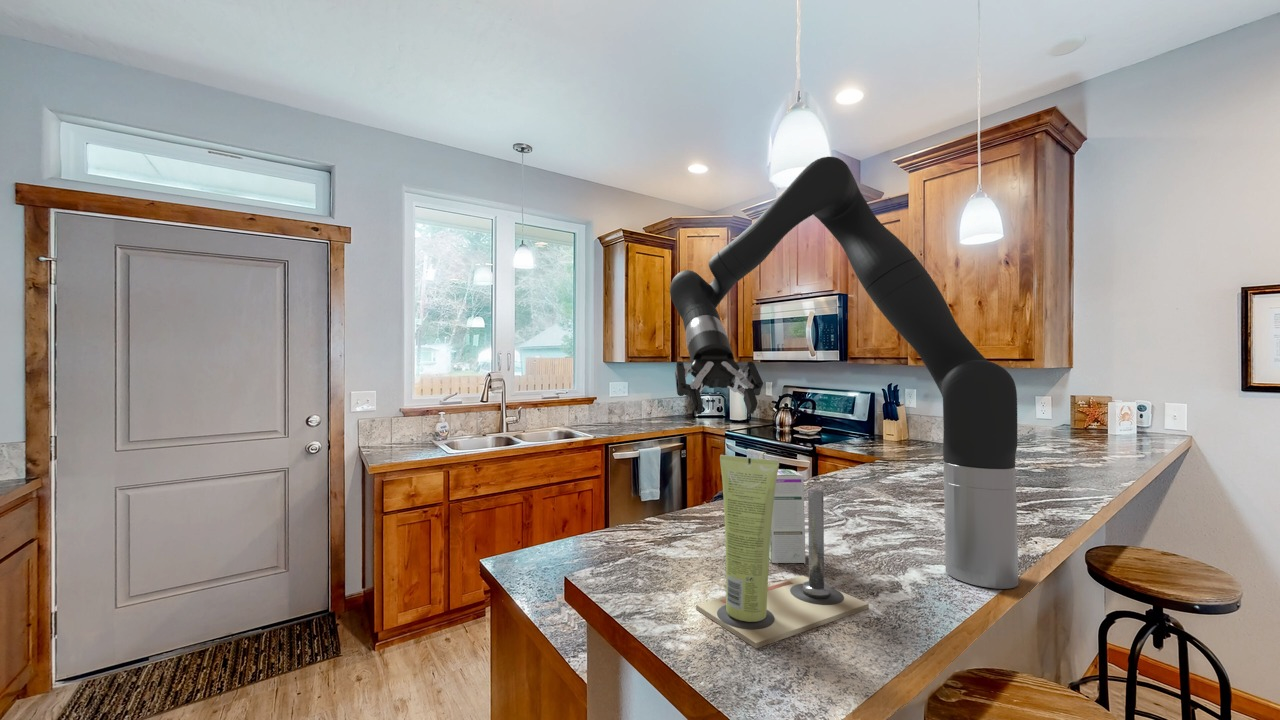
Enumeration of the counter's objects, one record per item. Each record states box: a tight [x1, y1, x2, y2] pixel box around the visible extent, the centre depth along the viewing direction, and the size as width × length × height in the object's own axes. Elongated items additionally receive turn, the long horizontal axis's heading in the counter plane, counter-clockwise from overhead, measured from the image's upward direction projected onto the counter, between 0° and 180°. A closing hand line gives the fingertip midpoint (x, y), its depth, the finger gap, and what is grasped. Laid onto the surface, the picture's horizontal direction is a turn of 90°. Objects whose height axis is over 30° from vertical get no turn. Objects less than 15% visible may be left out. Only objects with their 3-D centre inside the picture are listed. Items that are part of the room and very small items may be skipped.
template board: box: [695, 575, 870, 649], centre depth 65 cm, size 20×11×1 cm, turn 121°
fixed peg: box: [803, 488, 832, 599], centre depth 69 cm, size 4×4×14 cm
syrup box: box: [769, 468, 806, 565], centre depth 84 cm, size 6×6×14 cm
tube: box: [719, 454, 780, 622], centre depth 63 cm, size 6×5×20 cm
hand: (726, 410), depth 79 cm, fingers open, 8 cm apart
